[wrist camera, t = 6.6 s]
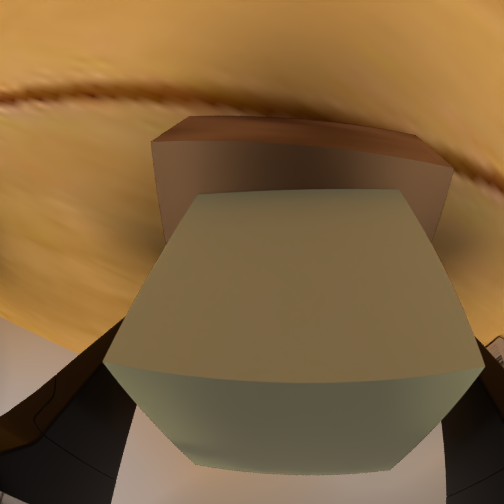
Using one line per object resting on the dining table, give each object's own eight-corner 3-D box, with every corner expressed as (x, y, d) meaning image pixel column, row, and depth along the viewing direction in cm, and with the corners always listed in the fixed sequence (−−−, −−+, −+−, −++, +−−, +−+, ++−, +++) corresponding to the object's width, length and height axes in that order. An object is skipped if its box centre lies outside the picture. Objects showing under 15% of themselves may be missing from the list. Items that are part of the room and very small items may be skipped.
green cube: (228, 327, 13) (195, 464, 8) (197, 194, 9) (102, 361, 4) (374, 327, 12) (389, 470, 7) (399, 189, 8) (484, 366, 3)
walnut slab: (206, 282, 17) (186, 339, 14) (192, 114, 12) (150, 142, 8) (370, 297, 16) (380, 356, 13) (412, 133, 11) (454, 168, 7)
